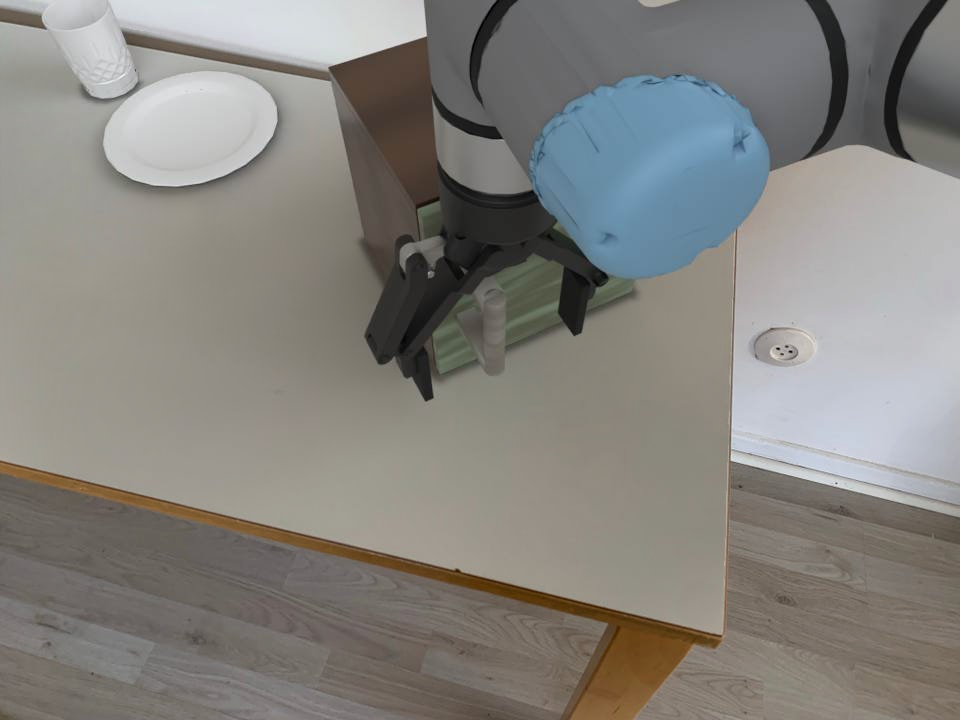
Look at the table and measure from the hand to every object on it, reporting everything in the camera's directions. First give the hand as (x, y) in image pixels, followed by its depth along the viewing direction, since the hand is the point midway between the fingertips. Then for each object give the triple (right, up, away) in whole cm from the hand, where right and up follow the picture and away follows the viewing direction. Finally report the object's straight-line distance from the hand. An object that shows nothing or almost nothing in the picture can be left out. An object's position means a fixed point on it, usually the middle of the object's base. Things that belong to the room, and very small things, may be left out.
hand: (498, 354), depth 60 cm
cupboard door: (+6, 0, +12) cm, 13 cm away
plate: (-37, +27, +30) cm, 55 cm away
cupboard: (0, +10, +18) cm, 21 cm away
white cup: (-50, +36, +36) cm, 71 cm away
